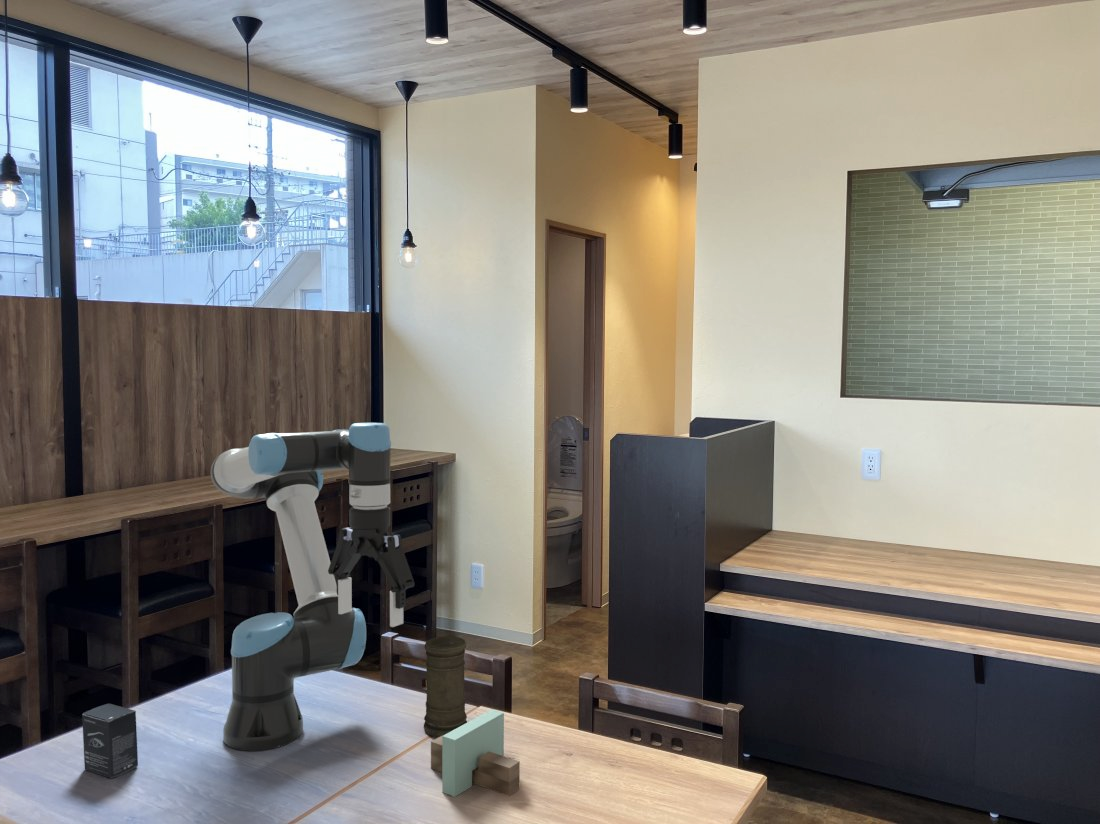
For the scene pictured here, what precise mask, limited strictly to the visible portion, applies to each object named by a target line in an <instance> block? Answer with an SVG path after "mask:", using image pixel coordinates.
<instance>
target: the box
mask: <svg viewBox="0 0 1100 824" xmlns="http://www.w3.org/2000/svg"><path fill="white" fill-rule="evenodd" d="M136 712H137V711H136V710H134V709H130V708H126V707H123V706H119V705H116V704H112V703H106V704H103V705H102V704H101V705H100V706H97V707H94V708H91V709H90V710H86V711H85V712H83V713H82V714H81V718H82V719H81V720H82V738H83V739H82V741H83V759H84V760H83V761H84V762H83V763H84V770H86V771H89V772H91V773H95V774H96V775H97V774H98V775H101V776H103V777H107V778H108V779H113V778H116V777H117V778H118V777H119V776H121V775H123V774H125V773H127V772H130V771H131V770H133V769H136V768H137V767H138V765H139V762H138V761H139V760H138V759H139V758H138V756H139V755H138V737H137V736H138V735H137V733H138V732H137V731H138V730H137V713H136Z"/></svg>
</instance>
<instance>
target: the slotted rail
mask: <svg viewBox="0 0 1100 824" xmlns="http://www.w3.org/2000/svg"><path fill="white" fill-rule="evenodd" d="M520 764H521V763H520V760H516V759H513V758H511V757H508V756H502V755H499V754H496V753H493V752H490V751H489V752H487V753H485V754H484V755H482V756H480V757H479V758H478V767H477V768H476V769H474V770H473V771H472V784H473V785H474V784H475V785H477V786H478V787H482V788H485V789H487V790H492V791H493V792H495V793H499V794H502V795H505V796H507V797H511V796H512V795H513V794H515V793H516V792H517V791H519V790H520V776H521V775H520V772H521V771H520V769H521V768H520V766H521V765H520ZM430 769H432V770H435V771H438V772H440V773H442V736H440V737H436V738H435V739H433V740H432V741H430Z"/></svg>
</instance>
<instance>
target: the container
mask: <svg viewBox="0 0 1100 824" xmlns="http://www.w3.org/2000/svg"><path fill="white" fill-rule="evenodd" d="M466 647H467V642H466V640H465V639H463V638H461V637H457V636H439V637H438V636H437V637H436V636H435V637H433V638H430V639H428V640H426V641H425V643H424V649H425V654H426V663H425V666H426V701H425V710H426V711H425V715H424V716H423V719H424V722H423V729H424V731H425V733H426V734H427V735H429V736H431V737H436V738H438V737H440V736H443V735H445V734H447V733H449V732H451V731H453V730H454V729H456V728H458V727H460V726H462V725H464V724H466V723H467V722H468V721H467V718H468V717H467V714H466V699H465V663H466V662H465V652H466V650H465V649H466Z"/></svg>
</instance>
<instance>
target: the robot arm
mask: <svg viewBox="0 0 1100 824" xmlns="http://www.w3.org/2000/svg"><path fill="white" fill-rule="evenodd" d="M390 431H391V430H390V427H389V425H388V424H386V423H384V422H356V423H352V424H351V425H350V426H349V428H345V429H340V428H339V429H334V430H327V431H307V432H280V433H279V432H278V433H277V432H269V433H268V432H267V433H262V434H256V435H253V437H252V438H251V439H250V442H249V445H248V446H246V447H241V448H231V449H227V450H225V451H223V452H222V453H220V454H219V455H218V456H217V457H216V458H215V459H214V460H213V462H212V465H211V467H210V478H211V481H212V483H213V485H214V486H215V487H216V489H217V490H218V491H220V493H223V494H225V495H226V496H228V497H232V498H237V499H244V500H245V499H246V500H247V499H248V500H249V499H265V501H266V506H267V508H268V509H270V510H271V511H273V512H275V513H276V518H277V521H278V526H279V530H280V534H281V539H282V542H283V543H282V544H283V547H284V550H285V554H286V559H287V563H288V567H289V571H290V577H291V580H292V583H293V588H294V592H295V595H296V600H297V605H298V606H297V608H296V609H295V611H294V612H293V616H292V614H290V613H288V612H281V611H280V612H279V611H277V612H268V613H262V614H258V615H256V616H253V617H250V618H248V619H245V620H244V621H242V622H240V623H239V624H238V625H237V626H236V627H235V629H234V630H233V633H232V638H231V648H230V655H231V683H232V684H231V686H232V687H231V689H232V695H231V696H232V697H231V698H232V699H231V704H230V707H229V711H228V714H227V717H226V720H225V721H226V722H225V724H223V725H224V726H223V733H222V735H223V736H222V737H223V739H224V740H223V743H224V742H225V743H226V744H227V745H228V746H227V745H226V744H225V743H224V744H225V745H226V746H227V747H229V748H231V749H234V748H235V749H234V750H238V751H247V752H248V751H250V752H251V751H256V752H257V751H265V750H271V749H275V748H279V747H282V746H285V745H288V744H290V743H292V742H293V741H296V740H297V739H298V738H300V736H301V735H302V734H303V731H304V720H303V715H302V713H301V709H300V707H299V704H298V701H297V699H296V696H295V693H294V692H295V691H294V681H295V679H296V678H301V677H306V676H311V675H315V674H316V675H317V674H321V673H324V672H325V673H326V672H330V671H334V670H342V669H344V668H347V667H351V666H355V665H356V664H358V663H359V662H360V660H361V659H362V657H363V655H364V652H365V650H366V643H367V642H366V641H367V625H366V624H367V623H366V619H365V616H364V614H363V611H362V610H361V609H360V608H356V607H353V606H352V605H353V604H352V603H353V601H352V598H353V597H352V596H353V594H352V592H353V591H352V590H353V589H352V584H353V582H352V580H353V579H352V577H351V572H352V570H353V569H354V568H355V565H357V563H358V562H359V560H360V559H361V558H362V556H363V557H364V556H366V557H369V558H373V559H374V561H375V562H377V563H378V564H379V566H380V568H381V569H382V571H383V573H384V575H385V577H386V578H387V581H388V582H389V584H390V585H391V588H392V589H391V590H390V591H389V627H391V628H395V627H397V626H401V625H403V624H404V608H405V607H406V605H407V604H406V603H407V602H406V597H407V596H406V594H407V593H406V591H407V589H411V588H414V587H415V581H414V580H415V579H414V577H413V575H412V572H411V569H410V566H409V563H408V559H407V557H406V555H405V551H404V549H403V543H402V535H400V534H394V535H389V532H388V529H389V527H390V526H391V507H390V506H389V505H390V504H391V448H392V447H391V446H392V441H391V432H390ZM337 470H347V471H348V478H349V479H348V484H349V485H348V488H349V491H348V492H349V493H348V494H349V495H348V496H349V499H348V500H349V501H348V502H349V505H350V506H351V507H350V508H349V509H348V518H349V519H348V525H349V527H343V528H341V529H339V536H338V537H339V538H338V542H337V544H336V547H335V551H333V556H332V558H331V560H330V556H329V552H328V548H327V544H326V540H325V537H324V534H323V529H322V526H321V521H320V519H319V518H320V517H319V515H318V512H317V508H316V504H315V501H316V500H317V499H318V497H319V494H320V491H321V490H322V488H323V485H324V475H323V472H325V471H337Z"/></svg>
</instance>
